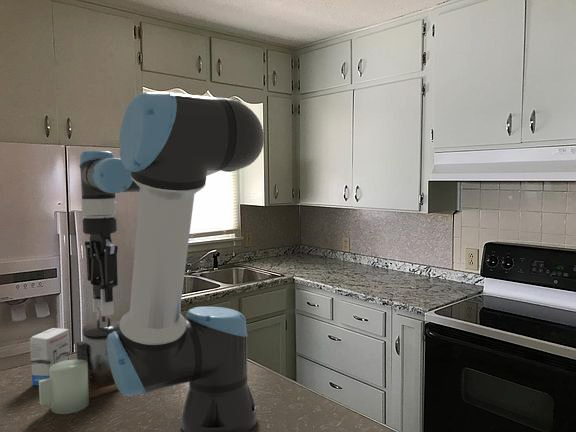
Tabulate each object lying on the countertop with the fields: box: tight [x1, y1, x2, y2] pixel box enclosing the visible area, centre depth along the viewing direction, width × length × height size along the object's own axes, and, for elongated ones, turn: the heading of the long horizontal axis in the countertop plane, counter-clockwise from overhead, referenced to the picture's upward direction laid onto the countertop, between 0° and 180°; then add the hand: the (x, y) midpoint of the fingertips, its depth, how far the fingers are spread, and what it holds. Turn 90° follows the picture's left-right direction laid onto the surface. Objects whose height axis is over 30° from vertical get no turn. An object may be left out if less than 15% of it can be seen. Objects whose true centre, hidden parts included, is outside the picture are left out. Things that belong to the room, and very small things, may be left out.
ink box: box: [29, 327, 71, 387], centre depth 121 cm, size 9×5×12 cm, turn 168°
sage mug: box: [38, 358, 90, 415], centre depth 106 cm, size 8×10×9 cm
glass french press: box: [76, 308, 120, 399], centre depth 119 cm, size 13×13×18 cm
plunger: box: [91, 283, 107, 322], centre depth 118 cm, size 4×4×9 cm
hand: (103, 312), depth 119 cm, fingers closed on plunger, 4 cm apart
